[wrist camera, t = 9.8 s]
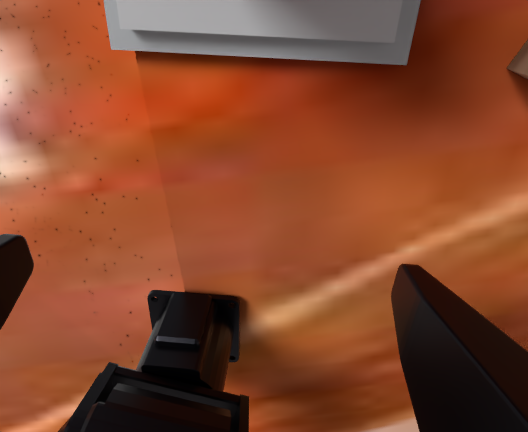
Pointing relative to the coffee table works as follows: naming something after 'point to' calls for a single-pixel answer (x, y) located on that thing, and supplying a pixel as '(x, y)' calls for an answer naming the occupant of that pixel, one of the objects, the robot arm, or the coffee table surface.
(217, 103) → the coffee table surface
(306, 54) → the stand
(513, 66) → the metal block
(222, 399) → the robot arm
